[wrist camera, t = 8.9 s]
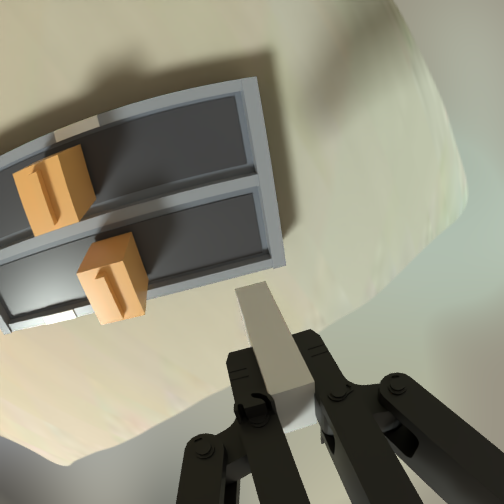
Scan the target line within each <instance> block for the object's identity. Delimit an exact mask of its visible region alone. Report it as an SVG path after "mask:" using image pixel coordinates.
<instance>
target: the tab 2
mask: <svg viewBox="0 0 504 504" xmlns="http://www.w3.org/2000/svg"><path fill="white" fill-rule="evenodd" d="M76 274H77V276H78V279H79V281H80V283H81V285H82V287H83V289H84V292H85V294H86V296H87V298H88V300H89V302H90V304H91V306H92V308H93V310H94V312H95V314H96V316H97V318H98V320H99V321H100V323H101V325H103V324H107V323H112V322H117V321H121V320H125V319H129V318H133V317H137V316H142V315H145V309H146V299H147V289H148V280H149V279H148V276H147V274H146V271H145V268H144V265H143V263H142V260H141V257H140V254H139V252H138V249H137V246H136V243H135V240H134V237H133V234H132V232H128V233H125V234H121V235H118V236H114V237H111V238H107V239H104V240H101V241H97V242H94V243H92V244H91V246H90V247H89V249H88V251H87V253H86V255H85V257H84V259H83V261H82V263H81V265H80V267H79V269H78V271H77V273H76Z"/></svg>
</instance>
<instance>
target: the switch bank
mask: <svg viewBox="0 0 504 504" xmlns="http://www.w3.org/2000/svg"><path fill="white" fill-rule="evenodd" d="M79 144H81V148H82V152H83V155H84V159H85V163H86V166H87V169H88V173H89V176H90V180H91V183H92V186H93V189H94V193H95V196H96V200H95V202H94V203H93V204H92V205H91V207H90V208H89V209H88V211H87V212H86V213H85V215H84V216H83V217H82V219H81V220H80V221H79V222H77V223H74V224H71V225H68V226H65V227H62V228H59V229H56V230H53V231H51V232H48V233H45V234H42V235H39V236H36V237H35V236H34V233H33V231H32V228H31V226H30V223H29V221H28V218H27V215H26V213H25V210H24V207H23V204H22V201H21V198H20V196H19V193H18V190H17V186H16V183H15V180H14V177H13V174H14V173H15V172H17V171H19V170H21V169H23V168H25V167H27V166H29V165H31V164H33V163H35V162H37V161H39V160H41V159H43V158H46V157H48V156H51V155H53V154H55V153H58V152H61V151H63V150H66V149H68V148H71V147H74V146H76V145H79ZM128 232H132V234H133V237H134V240H135V243H136V246H137V249H138V252H139V254H140V257H141V260H142V263H143V265H144V268H145V271H146V274H147V276H148V279H149V280H148V289H147V299H146V300H149V299H153V298H157V297H161V296H165V295H169V294H173V293H177V292H181V291H185V290H189V289H193V288H197V287H201V286H204V285H208V284H212V283H216V282H220V281H224V280H228V279H231V278H235V277H239V276H243V275H247V274H251V273H254V272H258V271H262V270H266V269H269V268H274V269H275V268H278V267H282V266H286V260H285V253H284V246H283V239H282V232H281V225H280V218H279V211H278V204H277V197H276V191H275V184H274V178H273V171H272V165H271V159H270V152H269V146H268V140H267V134H266V128H265V122H264V116H263V110H262V104H261V99H260V93H259V87H258V82H257V76H256V77H249V78H242V79H237V80H231V81H225V82H220V83H215V84H209V85H204V86H200V87H195V88H190V89H186V90H182V91H177V92H173V93H169V94H165V95H161V96H157V97H154V98H150V99H146V100H143V101H139V102H136V103H132V104H129V105H126V106H123V107H119V108H116V109H113V110H110V111H107V112H104V113H101V114H98V115H95V116H92V117H89V118H87V119H84V120H81V121H78V122H76V123H73V124H71V125H68V126H65V127H63V128H60V129H58V130H55V131H53V132H51V133H48V134H46V135H44V136H41V137H39V138H37V139H35V140H32V141H30V142H28V143H26V144H24V145H22V146H19V147H17V148H15V149H13V150H11V151H9V152H7V153H5V154H3V155H1V156H0V329H1V331H2V332H3V334H9V333H11V332H13V331H17V330H22V329H26V328H31V327H35V326H39V325H44V324H52V323H56V322H60V321H65V320H69V319H73V318H77V317H78V316H83V315H87V314H91V313H95V312H94V310H93V308H92V306H91V304H90V302H89V300H88V298H87V296H86V294H85V292H84V289H83V287H82V285H81V283H80V281H79V279H78V276H77V274H76V273H77V271H78V269H79V267H80V265H81V263H82V261H83V259H84V257H85V255H86V253H87V251H88V249H89V247H90V246H91V244H92V243H94V242H97V241H101V240H104V239H107V238H111V237H114V236H118V235H121V234H125V233H128Z"/></svg>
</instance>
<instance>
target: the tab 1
mask: <svg viewBox="0 0 504 504" xmlns="http://www.w3.org/2000/svg"><path fill="white" fill-rule="evenodd" d="M13 177H14V180H15V183H16V186H17V190H18V193H19V196H20V198H21V201H22V204H23V207H24V210H25V213H26V215H27V218H28V221H29V223H30V226H31V228H32V231H33V233H34V236H35V237H36V236H39V235H42V234H45V233H48V232H51V231H53V230H56V229H59V228H62V227H65V226H68V225H71V224H74V223H77V222H79V221H80V220H81V219H82V217H83V216H84V215H85V213H86V212H87V211H88V209H89V208H90V207H91V205H92V204H93V203H94V202H95V200H96V196H95V193H94V189H93V186H92V183H91V180H90V176H89V173H88V169H87V166H86V163H85V159H84V155H83V152H82V148H81V144H79V145H76V146H74V147H71V148H68V149H66V150H63V151H61V152H58V153H55V154H53V155H51V156H48V157H46V158H43V159H41V160H39V161H37V162H35V163H33V164H31V165H29V166H27V167H25V168H23V169H21V170H19V171H17V172H15V173H14V174H13Z"/></svg>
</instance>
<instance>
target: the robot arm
mask: <svg viewBox="0 0 504 504" xmlns="http://www.w3.org/2000/svg"><path fill="white" fill-rule="evenodd" d="M235 292H236V296H237V300H238V304H239V308H240V313H241V317H242V321H243V325H244V329H245V332H246V336H247V339H248V342H249V345H250V348H246V349H242V350H238V351H234V352H230V353H229V355H228V358H227V361H226V365H227V369H228V373H229V378H230V383H231V387H232V391H233V396H234V400H235V404H234V413H235V415H236V419H235V421H234V423H233V424H232V425H231V426H230V427H229V428H227V429H226V430H224V431H223V432H221V433H219V434H217V435H213V434H206V433H205V434H199V435H197V436H195V437H193V438H192V439H191V440H190V441H189V442H188V443H187V446H186V448H185V452H184V458H183V463H182V469H181V476H180V482H179V488H178V494H177V500H176V504H239V494H240V479H241V478H243V477H244V476H246V475H248V474H250V473H252V476H253V480H254V483H255V487H256V491H257V494H258V498H259V501H260V504H310V501H309V499H308V496H307V494H306V491H305V488H304V486H303V483H302V480H301V478H300V475H299V472H298V469H297V467H296V464H295V461H294V459H293V456H292V453H291V450H290V448H289V445H288V442H287V439H286V437H285V433H288V432H292V431H295V430H298V429H301V428H304V427H307V426H310V425H313V424H316V423H317V420H318V422H319V424H320V427H321V443H322V444H323V443H324V442H325V444H326V446H327V449H328V451H329V453H330V456H331V458H332V460H333V462H334V465H335V467H336V469H337V471H338V474H339V476H340V478H341V480H342V482H343V485H344V487H345V489H346V491H347V494H348V496H349V498H350V500H351V502H352V504H423V502H422V500H421V498H420V497H419V495H418V493H417V491H416V490H415V488H414V486H413V484H412V483H411V481H410V479H409V477H408V475H407V474H406V472H405V470H404V469H403V467H402V465H401V463H400V462H399V460H398V458H397V456H398V457H399V458H401V459H402V460H403V461H404V462H405V463H406V464H407V465H408V466H409V467H410V468H411V469H412V470H413V471H414V472H415V473H416V474H417V475H418V476H419V477H420V478H421V479H422V480H423V481H424V482H425V483H426V484H427V485H428V486H430V487H431V488H432V489H433V490H434V491H435V492H436V493H437V494H438V495H439V496H440V497H441V498H442V499H443V500H444V501H445V502H447V503H448V504H504V453H503V452H502V451H501V450H500V449H498V448H497V447H496V446H495V445H493V444H492V443H491V442H490V441H488V440H487V439H486V438H485V437H484V436H482V435H481V434H480V433H479V432H477V431H476V430H475V429H474V428H473V427H471V426H470V425H469V424H468V423H466V422H465V421H464V420H463V419H461V418H460V417H459V416H458V415H457V414H455V413H454V412H453V411H451V410H450V409H449V408H448V407H447V406H445V405H444V404H443V403H442V402H441V401H439V400H438V399H437V398H436V397H434V396H433V395H432V394H431V393H429V392H428V391H427V390H426V389H424V388H423V387H422V386H421V385H420V384H418V383H417V382H416V381H415V380H413V379H412V378H411V377H410V376H408V375H406V374H403V373H391V374H389V375H387V376H385V377H384V378H383V379H382V380H381V382H380V384H372V385H357V384H354V383H352V382H349V381H348V380H347V379H346V378H345V377H344V376H343V374H342V372H341V371H340V369H339V368H338V366H337V364H336V362H335V361H334V359H333V357H332V355H331V354H330V352H329V351H328V349H327V347H326V346H325V344H324V342H323V340H322V339H321V337H320V335H319V334H317V333H316V332H314V331H313V330H311V329H309V330H306V331H303V332H299V333H296V334H293V335H291V333H290V331H289V329H288V327H287V324H286V322H285V320H284V318H283V316H282V314H281V312H280V310H279V308H278V306H277V304H276V302H275V300H274V298H273V296H272V294H271V292H270V290H269V288H268V286H267V284H266V282H265V281H264V282H260V283H256V284H253V285H249V286H245V287H241V288H237V289H235ZM316 418H317V420H316ZM395 454H396V455H397V456H396V455H395Z"/></svg>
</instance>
